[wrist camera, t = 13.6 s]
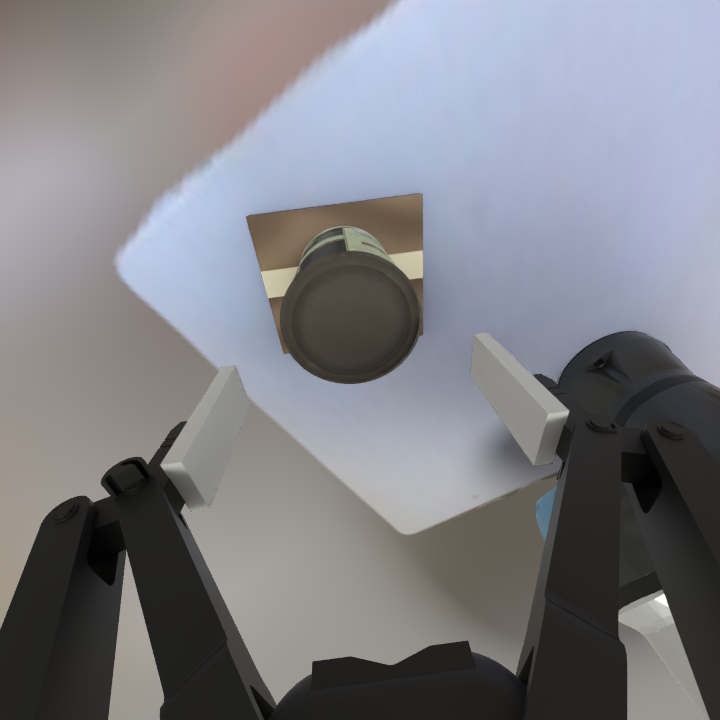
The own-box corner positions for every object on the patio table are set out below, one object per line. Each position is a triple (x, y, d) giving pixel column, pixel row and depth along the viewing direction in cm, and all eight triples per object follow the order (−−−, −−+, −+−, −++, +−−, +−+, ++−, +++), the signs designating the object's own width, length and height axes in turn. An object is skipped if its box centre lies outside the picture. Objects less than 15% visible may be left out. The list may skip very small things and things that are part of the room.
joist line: (422, 277, 35) (423, 277, 35) (268, 297, 35) (268, 298, 34) (422, 250, 33) (423, 250, 33) (261, 271, 33) (260, 271, 33)
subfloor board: (420, 330, 40) (422, 335, 39) (285, 348, 40) (283, 353, 38) (418, 193, 32) (422, 193, 30) (249, 215, 32) (245, 216, 30)
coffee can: (302, 318, 36) (286, 386, 24) (295, 224, 31) (270, 250, 19) (387, 317, 37) (413, 383, 25) (394, 226, 32) (432, 253, 20)
